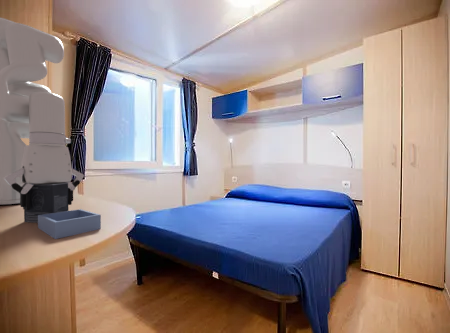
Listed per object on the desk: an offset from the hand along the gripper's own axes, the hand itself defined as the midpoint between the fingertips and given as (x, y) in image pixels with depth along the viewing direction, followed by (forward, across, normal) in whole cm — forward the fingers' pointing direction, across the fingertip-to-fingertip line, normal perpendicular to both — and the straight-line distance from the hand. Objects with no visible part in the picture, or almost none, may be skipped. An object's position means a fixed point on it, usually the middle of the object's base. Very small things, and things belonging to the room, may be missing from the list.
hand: (48, 206), depth 61 cm
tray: (+5, -1, +11) cm, 12 cm away
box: (+5, 0, 0) cm, 5 cm away
